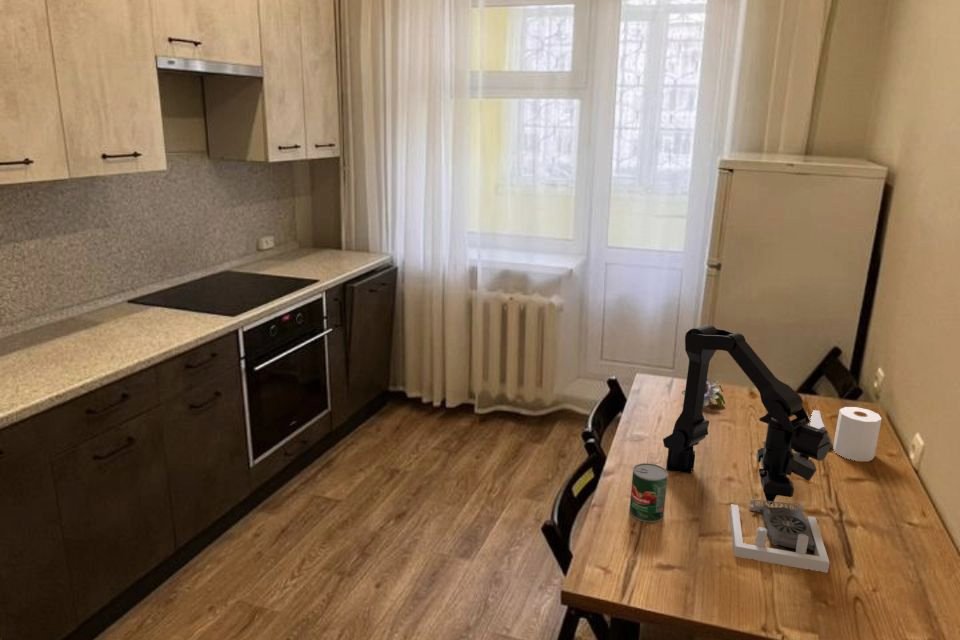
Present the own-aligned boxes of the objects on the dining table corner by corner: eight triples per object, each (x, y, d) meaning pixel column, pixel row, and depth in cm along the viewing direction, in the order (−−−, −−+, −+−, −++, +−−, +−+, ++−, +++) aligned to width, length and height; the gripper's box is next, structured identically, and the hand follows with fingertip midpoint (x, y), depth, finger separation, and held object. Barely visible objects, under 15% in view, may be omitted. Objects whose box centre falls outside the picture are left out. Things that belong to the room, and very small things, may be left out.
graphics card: (749, 496, 165) (803, 502, 163) (747, 510, 166) (801, 516, 164) (759, 536, 150) (819, 543, 147) (757, 551, 151) (817, 559, 148)
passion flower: (695, 422, 226) (676, 392, 225) (702, 405, 235) (683, 376, 233) (726, 411, 219) (707, 380, 218) (732, 394, 228) (713, 364, 227)
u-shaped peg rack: (734, 556, 147) (737, 531, 145) (729, 513, 163) (732, 490, 162) (827, 572, 142) (832, 547, 141) (813, 526, 158) (817, 503, 157)
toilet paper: (834, 457, 192) (841, 417, 188) (831, 442, 201) (838, 404, 198) (875, 465, 188) (883, 424, 185) (870, 449, 197) (878, 410, 194)
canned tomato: (665, 508, 165) (669, 466, 162) (662, 525, 158) (666, 482, 155) (631, 501, 168) (635, 460, 164) (627, 518, 160) (630, 476, 157)
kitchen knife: (801, 407, 224) (818, 405, 222) (803, 415, 224) (820, 413, 223) (813, 443, 197) (832, 442, 195) (814, 452, 198) (833, 450, 196)
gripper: (823, 467, 150) (812, 530, 154) (809, 432, 167) (800, 489, 172) (768, 459, 153) (759, 521, 157) (760, 425, 170) (752, 482, 175)
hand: (769, 503), depth 165 cm, fingers closed
